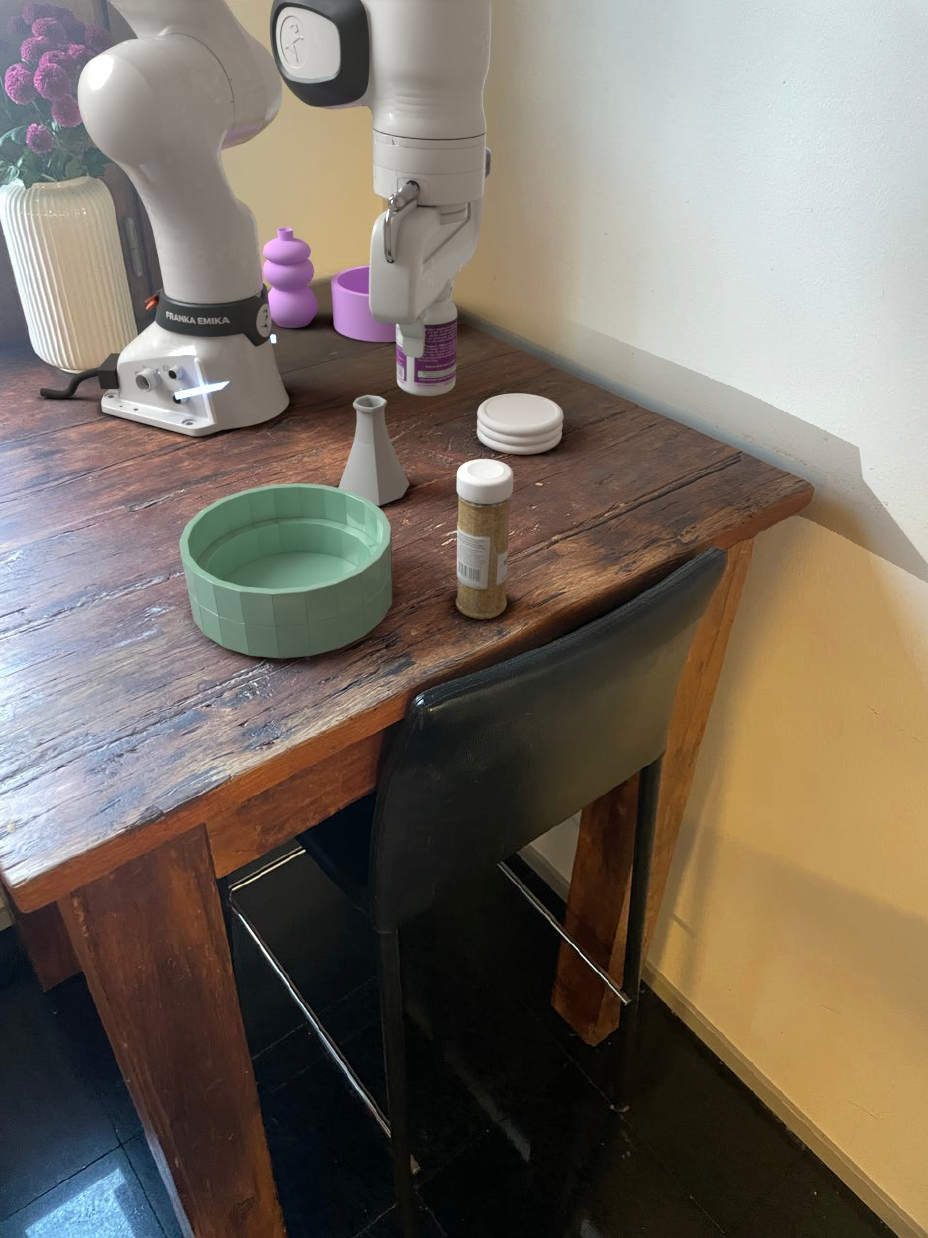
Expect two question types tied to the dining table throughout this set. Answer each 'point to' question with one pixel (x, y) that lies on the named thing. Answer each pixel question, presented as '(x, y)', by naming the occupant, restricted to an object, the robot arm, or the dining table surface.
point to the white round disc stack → (519, 423)
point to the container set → (298, 302)
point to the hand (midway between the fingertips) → (426, 340)
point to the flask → (373, 456)
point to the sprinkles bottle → (483, 537)
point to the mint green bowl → (288, 569)
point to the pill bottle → (431, 352)
